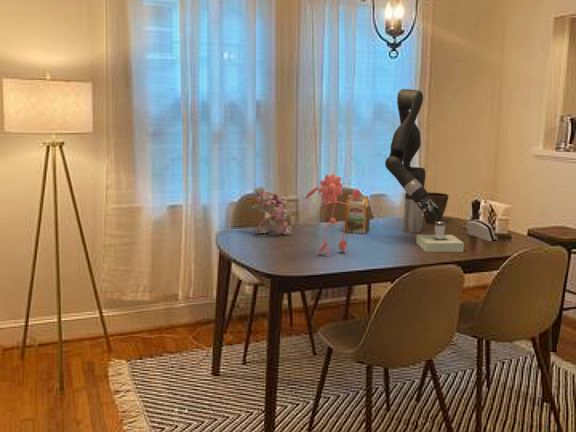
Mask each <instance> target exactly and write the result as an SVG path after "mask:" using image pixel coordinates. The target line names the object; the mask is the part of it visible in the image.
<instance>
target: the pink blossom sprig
mask: <svg viewBox="0 0 576 432" xmlns="http://www.w3.org/2000/svg"><path fill="white" fill-rule="evenodd" d="M341 180H342V178H341V176H340V175H339V176H336V175H335V174H334V173H332V174H330V175H329V174H325V175H324V179H321V180H320V183H319V184H320V186H321V187H320V188H319V186H316V187H314V188H312V189H311V191H309V192H308V193H307V194H306V196H305V197H304V200H307V199H309V198H310V197H312V195H314V194H315V193H316V192H317V191H318V194H319V195H320V198H321V201H322V202H323V204H324V205H329V204H333V203H334V204H333V207H332V213H331V218H330V219H329V221H328V223H327V225H326V226H325V228H324V230H326V229H327V228H328V226H329V224H331V225H334V224H336V223H337V224H339V225H340V226H343V233H342V240H340V242H339V244H338V249H340V250H341V251H342V252H343V251H344V254H345V255H347V250H346V247H347V245H348V243H347V240H345V237H344V236H345V224H342V223H340V222H338V221H337V220H336V218H334V217H333V216H334V213H335V208H336V205H337V203H338V204H342V205H345V206H346V205H348V204H349V202H350V201H351V199H352V198H354V199H356V200H357V199H358V198H359V197H360V195H361V193H362V192H361V191H360V190H359V189H357V188H356V189H354V190H352V192H351V195H352V197H351V198H350V200H349V202H348V203H347V202H346V203H347V204H346V203H345V202H342V201H338V196H343V193H344V191H343V189H342V188H343V186H344V185H343V183H342V182H341ZM361 196H362V195H361ZM325 199H326V201H327V202H325ZM323 239H324V241H323V242H324V243H323V245H322V246H320V248H321V249H319V251H318V255H320V254H321V253H322V252H323V251H324V249H325V251H326V256H327V257H328V256H329V257H330V255H329V250H328V247H327V245H328V241H326V238H323Z"/></svg>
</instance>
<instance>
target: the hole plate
mask: <svg viewBox="0 0 576 432" xmlns="http://www.w3.org/2000/svg"><path fill="white" fill-rule="evenodd" d="M434 235H435V234H416V244H417V245H418V246H419V247H420V248H421V249H422V250H424V252H426V253H464V247H465V243H464V242H463V241H462V240H460V239H459V238H458V237H456V236H455V235H454V234H444V240H434Z"/></svg>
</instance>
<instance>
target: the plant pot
mask: <svg viewBox="0 0 576 432" xmlns="http://www.w3.org/2000/svg"><path fill="white" fill-rule="evenodd" d="M427 197H428V198H430V197H431V198H432V199H433V200H434V201H435V202H436V203H437V204H438V206H439V207H438V209H439V210H440V211H441V212H442V213H443V215H442V216H441V217H438V215H437V214H436V213H435V211H433V210H432V209H431V212H433V213H434V214H435V215H436V217H437V218H436V219H435V220H432V219H431V217H430V216H429V215H427V214H424V213H423V217H424V221H425V223H427V224H429V225H430V224H431V225H435V221H442V218H443V216H444V214H445V211H446V209H447V205H448V200H449V194H447V193H442V192H441V193H440V192H428V195H427Z"/></svg>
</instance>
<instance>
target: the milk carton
mask: <svg viewBox="0 0 576 432" xmlns="http://www.w3.org/2000/svg"><path fill="white" fill-rule="evenodd" d="M351 197H352V194H348V196H347V200H346V204H347V203H348V202H349V200H350V198H351ZM344 217H345V218H344V226H345V231H344V234H349V233H350V235H367V234H368V232H369V231H370V223H371V221H370V220H371V202H370V199H369V195H360V197H359V198H358V199H357V200H356V199H354V198H352V199H351V201H350V202H349V204H348V205H345V215H344Z"/></svg>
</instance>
